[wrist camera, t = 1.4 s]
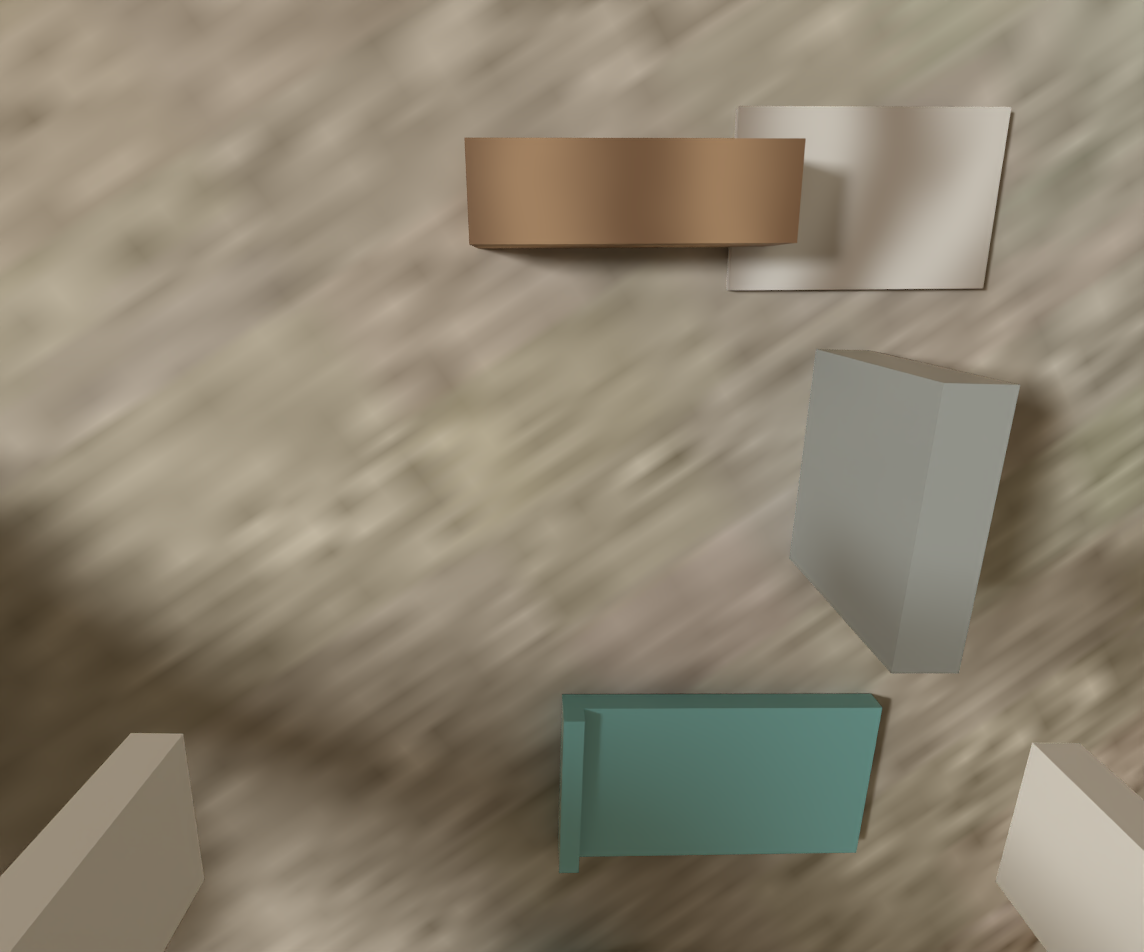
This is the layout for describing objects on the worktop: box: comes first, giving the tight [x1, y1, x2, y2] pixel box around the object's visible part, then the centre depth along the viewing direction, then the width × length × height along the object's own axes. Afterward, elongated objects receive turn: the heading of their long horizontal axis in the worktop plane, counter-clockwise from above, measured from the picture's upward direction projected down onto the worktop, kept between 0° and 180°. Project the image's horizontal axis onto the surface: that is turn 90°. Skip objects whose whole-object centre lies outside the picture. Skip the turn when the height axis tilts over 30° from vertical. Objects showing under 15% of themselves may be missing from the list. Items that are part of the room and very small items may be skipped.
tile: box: [790, 349, 1020, 673], centre depth 27 cm, size 3×10×10 cm, turn 178°
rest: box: [558, 694, 882, 873], centre depth 35 cm, size 16×9×2 cm, turn 88°
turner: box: [465, 106, 1011, 290], centre depth 27 cm, size 22×7×4 cm, turn 90°
